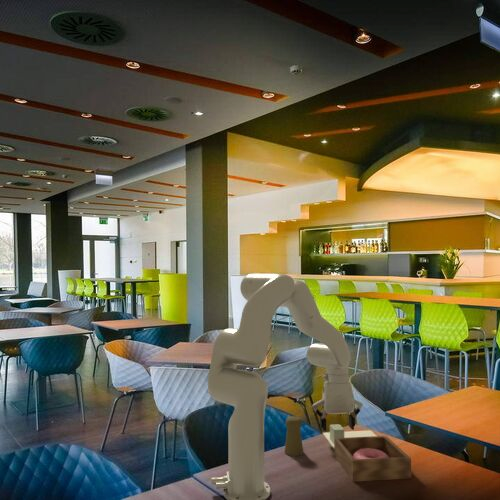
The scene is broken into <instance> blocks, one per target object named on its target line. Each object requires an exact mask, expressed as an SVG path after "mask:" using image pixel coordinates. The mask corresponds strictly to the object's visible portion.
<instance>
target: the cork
mask: <svg viewBox="0 0 500 500" xmlns="http://www.w3.org/2000/svg"><path fill="white" fill-rule="evenodd" d="M285 426H286V428H287V431H286V437H285V438H286V439H285V447H284V453H285V455H287V456H289V457H299V456H302V455H303V454H304V447H303V438H302V432H301V431H302V430H301V427H302V426H303V421H302V418H300V417H299V416H294V415H293V416H288V417H287V418H286V420H285Z"/></svg>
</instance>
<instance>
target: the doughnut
mask: <svg viewBox="0 0 500 500" xmlns="http://www.w3.org/2000/svg"><path fill="white" fill-rule="evenodd" d="M353 457H354V459H355V460H357V459H375V458H389V457H388V456H387V454H385V453H384V452H382V451H380V450H377V449H371V448H364V449H359V450H357V451H356V452H355V453H354V455H353Z"/></svg>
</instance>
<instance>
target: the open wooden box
mask: <svg viewBox="0 0 500 500" xmlns="http://www.w3.org/2000/svg"><path fill="white" fill-rule="evenodd" d="M364 448H371V449H377V450H380V451H382V452H384V453H385V454H387V456H388V457H389V458H375V459H357V460H355V459H354V457H353V455H354V453H355V452H356V451H357V450H359V449H364ZM333 451H334V453H333V455H334V458H335V460H336V461H338V463H339V464H340V466H341V467H342V469H343V470H344V471H345V472H346V474H347V475H348V477H349V478H350V480H351V481H352V482H353V483H355V482H368V481H369V482H371V481H372V482H373V481H387V480H388V481H389V480H402V479H403V480H404V479H412V458H411V457H410V456H409V455H408V454H407V452H405V451H404V450H402V449H401V447H399V446H398V445H397V444H396V443H394V441H392V440H391V439H390V438H389V437H388V436H387V435H376V436H371V437H351V438H334V448H333Z"/></svg>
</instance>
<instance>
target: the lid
mask: <svg viewBox="0 0 500 500" xmlns="http://www.w3.org/2000/svg"><path fill="white" fill-rule="evenodd" d="M322 434H323V436H324V437H325V438H326V440H327V441H328V443H329V444H330V445H331V447H332V448H333V449H334V438H351V437H371V436H377V434H375V432H373V431H372V430H350V431H345V428H344V427H343V426H342V425H341V424H340V423H339V424H336V423H335V424H329V432H326V431H325V432H322Z"/></svg>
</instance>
